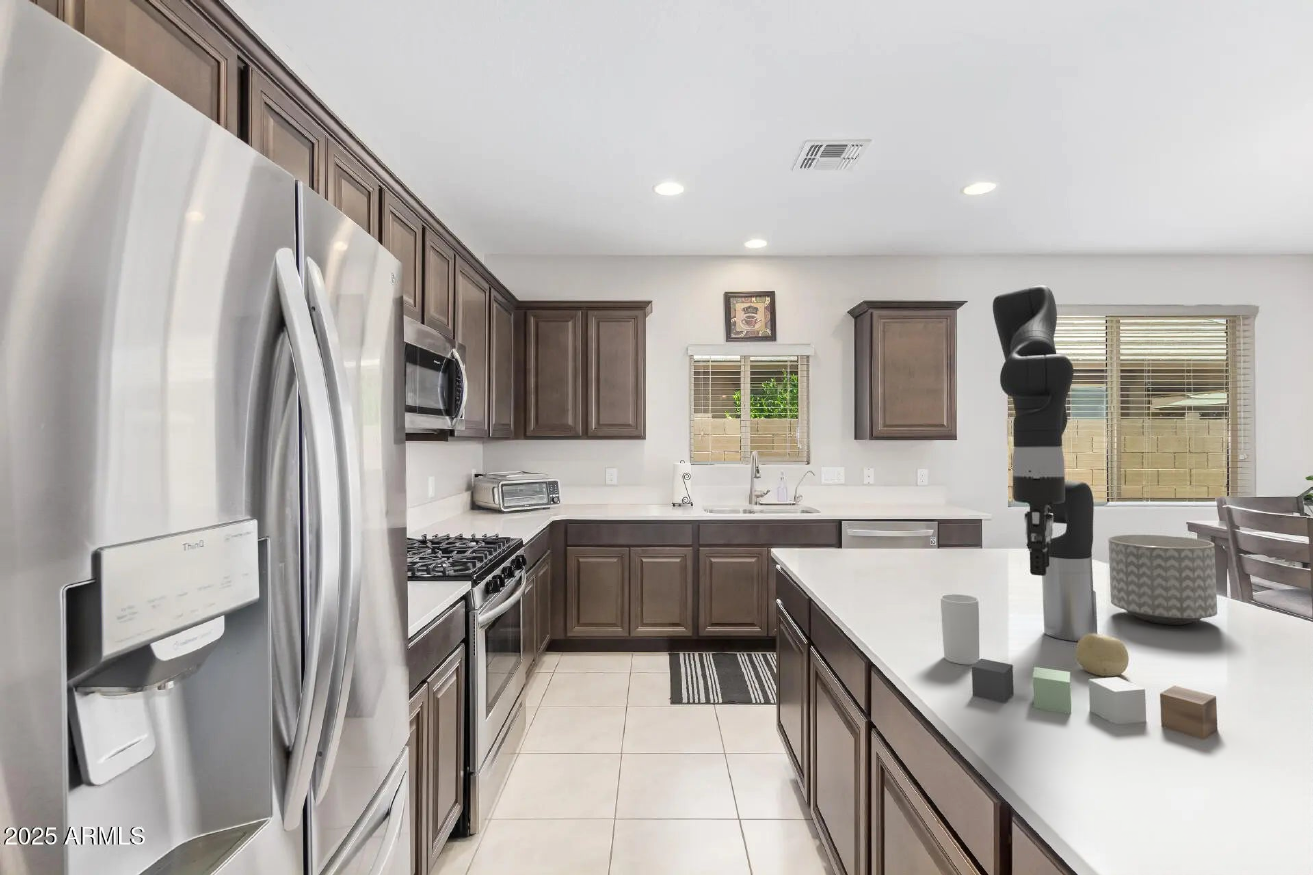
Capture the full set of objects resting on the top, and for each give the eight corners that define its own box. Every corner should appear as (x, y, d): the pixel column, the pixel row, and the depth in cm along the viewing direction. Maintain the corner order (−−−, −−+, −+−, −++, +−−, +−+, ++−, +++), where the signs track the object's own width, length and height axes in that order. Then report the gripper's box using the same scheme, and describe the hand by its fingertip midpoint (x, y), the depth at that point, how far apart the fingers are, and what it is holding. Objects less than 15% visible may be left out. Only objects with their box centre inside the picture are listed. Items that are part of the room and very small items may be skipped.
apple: (1069, 672, 115) (1064, 629, 119) (1095, 682, 118) (1089, 641, 122) (1115, 670, 109) (1108, 625, 112) (1142, 681, 112) (1134, 637, 115)
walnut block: (1175, 718, 96) (1174, 685, 96) (1217, 730, 92) (1216, 696, 92) (1161, 726, 94) (1160, 693, 94) (1203, 739, 90) (1202, 704, 90)
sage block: (1035, 696, 106) (1034, 666, 106) (1071, 702, 103) (1070, 671, 103) (1033, 707, 102) (1032, 676, 102) (1071, 714, 99) (1069, 682, 99)
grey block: (1118, 708, 101) (1117, 676, 101) (1146, 722, 96) (1145, 688, 96) (1089, 710, 100) (1088, 679, 100) (1116, 724, 95) (1114, 691, 95)
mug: (974, 668, 119) (972, 604, 120) (937, 660, 124) (935, 599, 124) (990, 653, 127) (987, 593, 127) (954, 647, 131) (952, 589, 132)
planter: (1208, 614, 148) (1205, 536, 148) (1226, 637, 132) (1223, 549, 132) (1108, 605, 158) (1105, 532, 158) (1114, 625, 142) (1111, 544, 142)
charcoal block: (982, 686, 111) (981, 658, 111) (1013, 694, 107) (1012, 664, 107) (972, 695, 107) (971, 666, 107) (1005, 703, 104) (1004, 673, 104)
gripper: (1016, 472, 114) (1018, 562, 114) (1007, 475, 103) (1009, 575, 102) (1066, 473, 110) (1068, 566, 110) (1062, 475, 98) (1065, 580, 98)
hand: (1040, 570), depth 106 cm, fingers open, 8 cm apart
